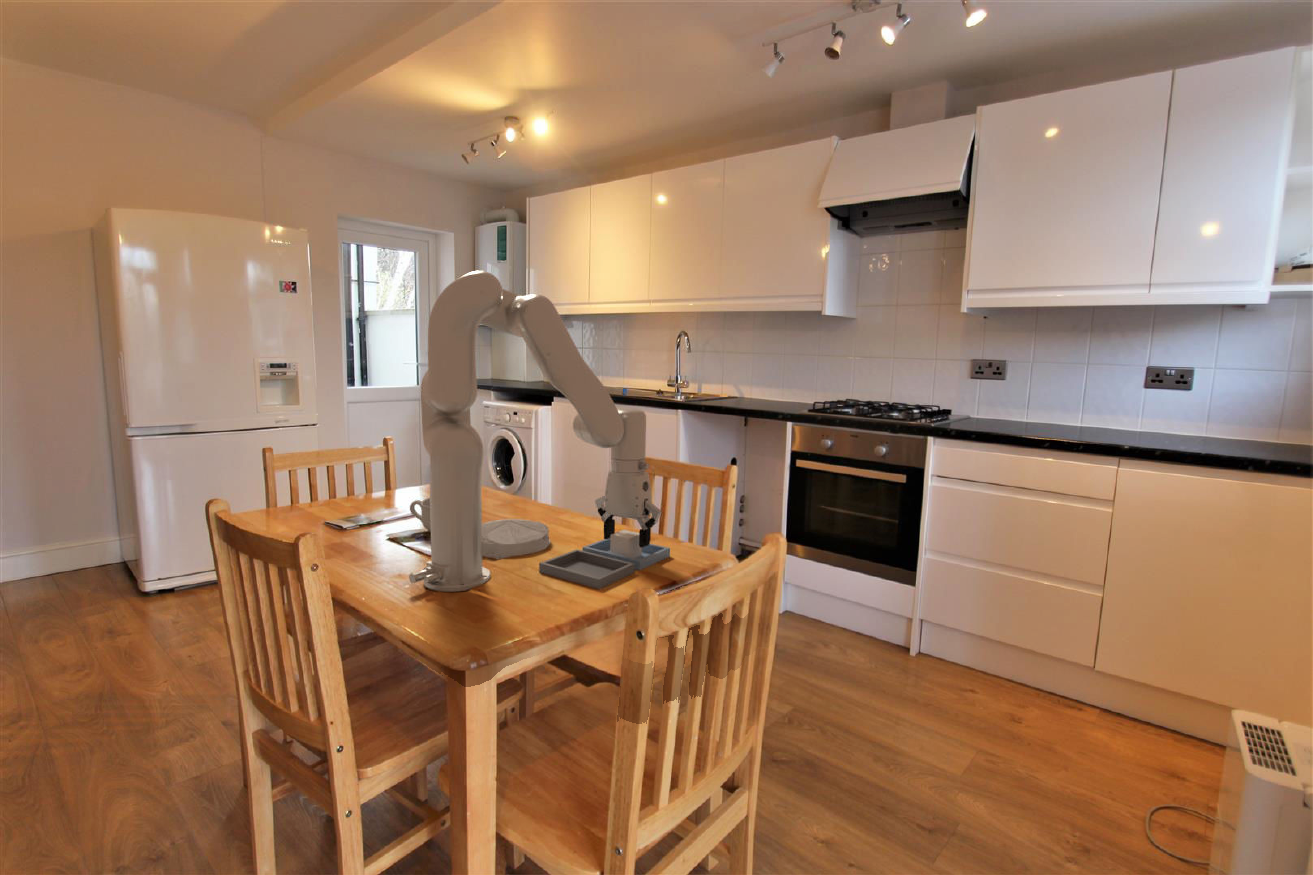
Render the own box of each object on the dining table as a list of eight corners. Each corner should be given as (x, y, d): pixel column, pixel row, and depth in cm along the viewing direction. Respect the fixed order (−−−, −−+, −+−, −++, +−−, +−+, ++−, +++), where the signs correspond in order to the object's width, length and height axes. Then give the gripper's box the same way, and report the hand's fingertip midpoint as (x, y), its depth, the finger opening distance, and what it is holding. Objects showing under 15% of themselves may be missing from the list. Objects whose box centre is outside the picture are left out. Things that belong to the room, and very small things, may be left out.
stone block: (628, 560, 137) (628, 538, 136) (610, 556, 140) (610, 534, 139) (641, 555, 141) (642, 533, 140) (623, 550, 144) (624, 529, 143)
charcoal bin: (598, 592, 120) (599, 579, 120) (539, 574, 129) (539, 562, 128) (634, 575, 130) (634, 563, 129) (576, 560, 138) (576, 549, 138)
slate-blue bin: (639, 572, 131) (640, 561, 131) (582, 558, 140) (582, 547, 140) (669, 558, 141) (670, 547, 141) (614, 545, 149) (614, 535, 149)
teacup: (475, 528, 162) (474, 497, 161) (450, 539, 151) (449, 507, 150) (427, 522, 165) (427, 493, 164) (400, 533, 155) (399, 502, 154)
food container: (561, 538, 156) (561, 511, 156) (538, 562, 137) (538, 532, 136) (483, 535, 158) (483, 508, 158) (450, 558, 139) (449, 528, 138)
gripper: (670, 468, 136) (668, 545, 138) (607, 459, 145) (606, 531, 148) (651, 473, 130) (649, 553, 132) (586, 463, 139) (585, 538, 142)
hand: (626, 541), depth 140 cm, fingers open, 9 cm apart
